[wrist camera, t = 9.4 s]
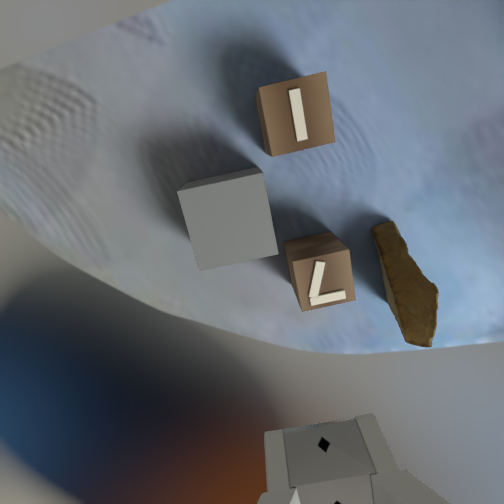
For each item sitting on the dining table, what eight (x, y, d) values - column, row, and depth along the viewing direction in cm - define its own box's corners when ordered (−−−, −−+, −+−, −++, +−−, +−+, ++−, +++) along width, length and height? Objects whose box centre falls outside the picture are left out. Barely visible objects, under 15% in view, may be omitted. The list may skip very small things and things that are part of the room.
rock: (353, 218, 32) (338, 317, 34) (451, 232, 25) (427, 353, 27) (405, 219, 39) (391, 301, 41) (491, 230, 32) (470, 326, 34)
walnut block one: (308, 83, 30) (326, 70, 24) (317, 141, 31) (336, 142, 26) (254, 97, 30) (258, 87, 24) (265, 153, 32) (272, 156, 26)
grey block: (258, 166, 32) (262, 172, 26) (271, 235, 34) (278, 254, 29) (187, 182, 32) (176, 191, 27) (205, 249, 34) (199, 271, 29)
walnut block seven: (330, 231, 34) (350, 250, 29) (336, 274, 36) (356, 301, 30) (283, 241, 35) (292, 262, 29) (291, 284, 36) (302, 312, 30)
